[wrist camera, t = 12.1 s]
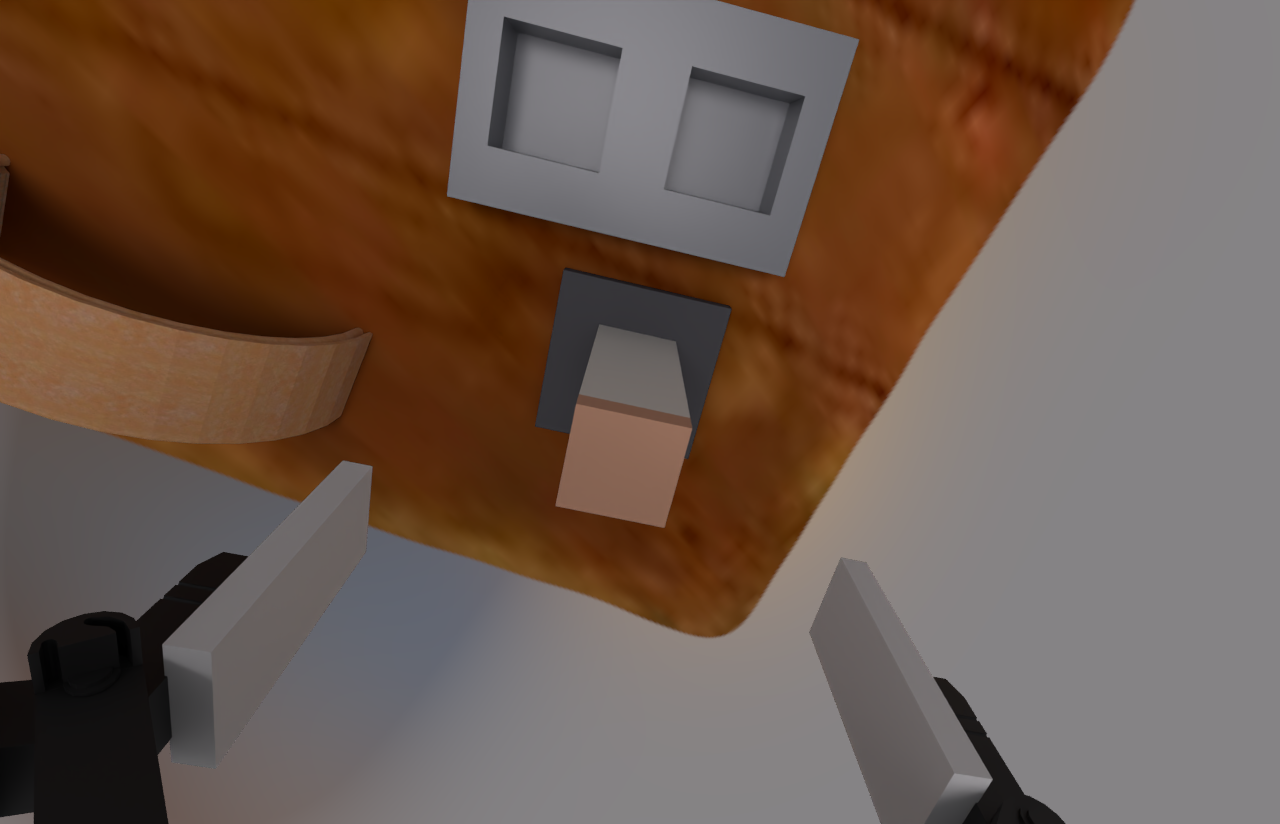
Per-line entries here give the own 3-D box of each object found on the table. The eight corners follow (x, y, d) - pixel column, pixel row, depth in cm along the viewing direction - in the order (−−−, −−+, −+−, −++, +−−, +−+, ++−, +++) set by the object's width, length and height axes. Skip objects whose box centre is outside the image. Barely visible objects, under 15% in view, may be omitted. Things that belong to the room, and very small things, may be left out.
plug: (584, 396, 34) (555, 505, 23) (599, 324, 33) (576, 403, 21) (657, 412, 34) (664, 527, 23) (675, 341, 33) (692, 428, 22)
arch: (-7, 142, 30) (-295, 129, 21) (375, 333, 34) (273, 394, 25) (-23, 247, 32) (-293, 278, 23) (341, 418, 36) (234, 505, 26)
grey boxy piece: (467, 193, 31) (446, 196, 28) (495, -38, 27) (475, -66, 24) (770, 266, 32) (784, 277, 29) (834, 54, 29) (858, 39, 25)
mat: (537, 420, 35) (535, 426, 35) (565, 267, 32) (563, 269, 31) (687, 453, 36) (688, 459, 35) (729, 306, 33) (731, 309, 32)
